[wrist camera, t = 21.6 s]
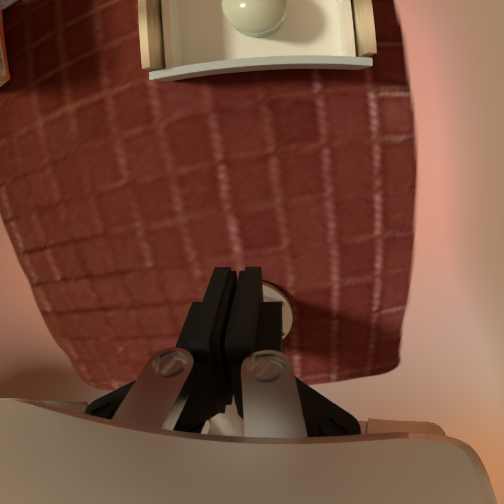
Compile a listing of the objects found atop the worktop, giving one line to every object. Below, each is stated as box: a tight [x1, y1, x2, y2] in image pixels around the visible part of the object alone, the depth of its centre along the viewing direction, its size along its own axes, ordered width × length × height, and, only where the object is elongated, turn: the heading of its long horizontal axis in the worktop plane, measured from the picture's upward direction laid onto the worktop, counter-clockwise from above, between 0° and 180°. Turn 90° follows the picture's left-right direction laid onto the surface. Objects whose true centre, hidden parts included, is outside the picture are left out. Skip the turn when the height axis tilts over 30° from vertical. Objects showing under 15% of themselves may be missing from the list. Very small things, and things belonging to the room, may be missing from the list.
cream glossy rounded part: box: [222, 0, 286, 38], centre depth 25 cm, size 6×6×4 cm
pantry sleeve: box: [138, 0, 377, 71], centre depth 24 cm, size 13×21×8 cm, turn 94°
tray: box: [149, 0, 373, 81], centre depth 25 cm, size 13×21×6 cm, turn 94°
